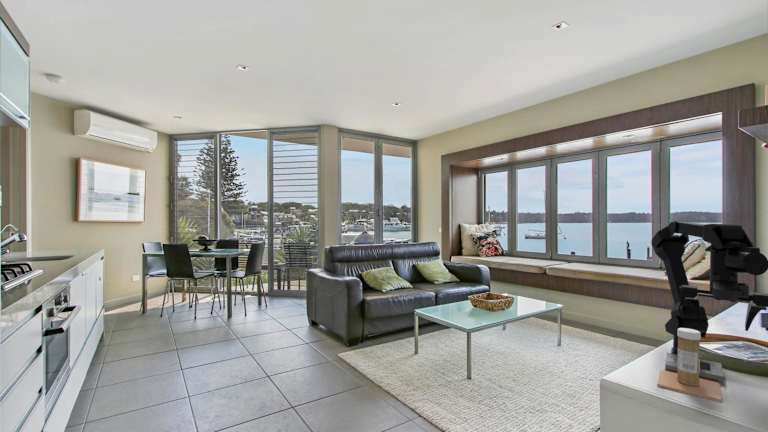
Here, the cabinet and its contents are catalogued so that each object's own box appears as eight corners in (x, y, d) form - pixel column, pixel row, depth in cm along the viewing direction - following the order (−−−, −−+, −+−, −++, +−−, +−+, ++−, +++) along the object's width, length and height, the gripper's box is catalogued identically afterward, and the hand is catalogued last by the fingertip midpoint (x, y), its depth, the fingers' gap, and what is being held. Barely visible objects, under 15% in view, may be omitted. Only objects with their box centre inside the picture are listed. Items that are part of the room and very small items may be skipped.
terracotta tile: (660, 371, 102) (660, 369, 102) (718, 384, 95) (718, 382, 95) (657, 386, 93) (657, 383, 93) (722, 402, 85) (722, 399, 85)
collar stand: (667, 359, 112) (667, 352, 112) (720, 370, 104) (721, 363, 104) (665, 371, 102) (665, 364, 102) (723, 384, 95) (724, 376, 95)
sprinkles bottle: (702, 384, 93) (703, 330, 93) (695, 388, 91) (696, 333, 91) (680, 377, 97) (681, 326, 97) (673, 381, 95) (674, 328, 95)
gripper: (679, 268, 101) (678, 326, 101) (779, 277, 89) (777, 342, 89) (680, 265, 109) (679, 318, 109) (771, 272, 97) (770, 331, 97)
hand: (722, 327), depth 101 cm, fingers open, 9 cm apart
